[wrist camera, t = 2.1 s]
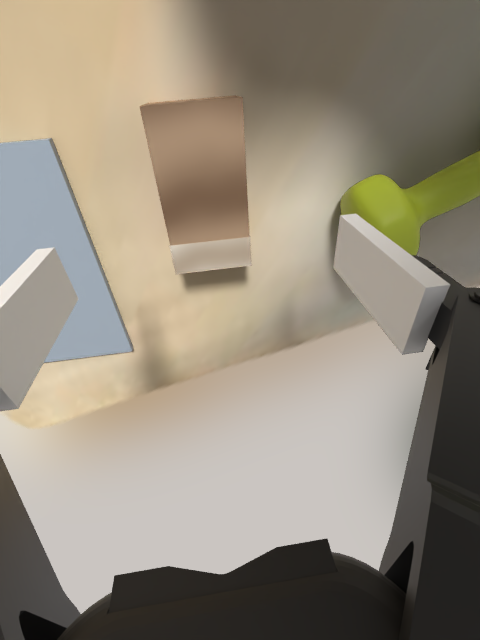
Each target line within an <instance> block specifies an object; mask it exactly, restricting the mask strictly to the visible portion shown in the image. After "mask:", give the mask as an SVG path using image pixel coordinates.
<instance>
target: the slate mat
mask: <svg viewBox="0 0 480 640" xmlns="http://www.w3.org/2000/svg"><path fill="white" fill-rule="evenodd" d="M53 247H54V248H55V250H56V252H57V254H58V256H59V258H60V260H61V262H62V265H63V267H64V269H65V271H66V273H67V275H68V277H69V280H70V282H71V284H72V286H73V288H74V290H75V292H76V294H77V297H78V301H77V303H76V304H75V306H74V308H73V310H72V312H71V314H70V315H69V317H68V319H67V321H66V323H65V325H64V326H63V328H62V330H61V332H60V334H59V335H58V337H57V339H56V341H55V343H54V345H53V346H52V348H51V350H50V352H49V354H48V356H47V357H46V359H45V361H44V363H45V362H53V361H61V360H68V359H76V358H84V357H92V356H100V355H108V354H115V353H123V352H131V351H132V350H133V346H132V343H131V341H130V338H129V336H128V333H127V330H126V328H125V325H124V323H123V320H122V318H121V315H120V312H119V310H118V307H117V305H116V302H115V299H114V297H113V294H112V292H111V289H110V287H109V284H108V281H107V279H106V276H105V274H104V271H103V269H102V266H101V263H100V261H99V258H98V256H97V253H96V251H95V248H94V245H93V243H92V240H91V238H90V235H89V233H88V230H87V227H86V225H85V222H84V220H83V217H82V214H81V212H80V209H79V207H78V204H77V202H76V199H75V196H74V194H73V191H72V189H71V186H70V184H69V181H68V178H67V176H66V173H65V171H64V168H63V166H62V163H61V160H60V158H59V155H58V153H57V150H56V148H55V145H54V142H53V140H52V138H49V139H38V140H27V141H16V142H5V143H0V286H1V285H2V284H3V283H4V282H5V281H6V280H7V279H8V278H9V277H10V276H11V275H12V274H13V273H14V272H15V271H16V270H17V269H18V268H19V267H20V266H21V265H22V264H23V263H24V262H25V261H26V260H27V259H28V258H29V257H30V256H31V255H32V254H33V253H34V252H35V251H36V250H37V249H44V248H53Z"/></svg>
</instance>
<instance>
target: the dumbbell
mask: <svg viewBox="0 0 480 640" xmlns="http://www.w3.org/2000/svg"><path fill="white" fill-rule="evenodd" d="M478 196H480V151H478V152H476V153H474V154H472V155H470V156H468V157H466V158H464V159H462V160H460V161H458V162H456V163H454V164H452V165H450V166H448V167H446V168H444V169H443V170H441V171H439V172H437V173H435V174H433V175H432V176H430V177H428V178H426V179H425V180H423V181H421V182H419V183H418V184H416V185H414V186H412V187H410V188H406V189H401V188H400V187H399V186H398V185H397V184H396V183H395V182H394V181H393V180H392V179H390V178H389V177H387V176H385V175H381V174H378V175H373V176H370V177H368V178H366V179H364V180H362V181H360V182H358V183H357V184H355V185H353V186H352V187H351V188H349V189H348V190H347V191H346V192H345V194H344V195H343V196H342V199H341V204H340V208H341V215H348V214H357V215H358V216H360V217H361V218H362V219H364V220H365V221H366V222H368V223H369V224H370V225H372V226H373V227H374V228H376V229H377V230H378V231H380V232H381V233H382V234H384V235H385V236H386V237H388V238H389V239H390V240H392V241H393V242H394V243H396V244H397V245H398V246H400V247H401V248H402V249H404V250H405V251H406V252H408V253H409V254H410V255H415V256H416V255H417V252H418V249H419V243H420V228H421V226H422V225H423V224H424V223H425V222H426V221H428V220H429V219H431V218H434V217H436V216H438V215H441V214H443V213H445V212H447V211H450V210H452V209H454V208H457V207H459V206H461V205H463V204H465V203H467V202H469V201H471V200H473V199H475V198H476V197H478Z"/></svg>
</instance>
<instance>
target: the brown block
mask: <svg viewBox="0 0 480 640" xmlns="http://www.w3.org/2000/svg"><path fill="white" fill-rule="evenodd" d="M140 110H141V115H142V119H143V124H144V128H145V133H146V138H147V142H148V147H149V151H150V156H151V160H152V165H153V169H154V174H155V178H156V183H157V187H158V192H159V196H160V201H161V205H162V210H163V214H164V219H165V223H166V228H167V232H168V237H169V241H170V250H171V254H172V259H173V263H174V268H175V272H176V274H183V273H192V272H200V271H209V270H218V269H226V268H235V267H243V266H252V264H251V243H250V235H249V219H248V199H247V179H246V159H245V138H244V118H243V98H242V97H239V96H224V97H213V98H201V99H190V100H178V101H167V102H155V103H147V104H144V105H141V106H140Z"/></svg>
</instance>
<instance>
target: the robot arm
mask: <svg viewBox="0 0 480 640" xmlns="http://www.w3.org/2000/svg"><path fill="white" fill-rule="evenodd" d="M333 268H334V269H335V271H336V272H337V273H338V275H339V276H340V277H341V278H342V280H343V281H344V282H345V283H346V285H347V286H348V287H349V288H350V290H351V291H352V292H353V293H354V295H355V296H356V297H357V298H358V300H359V301H360V302H361V303H362V305H363V306H364V307H365V308H366V310H367V311H368V312H369V314H370V315H371V316H372V317H373V319H374V320H375V321H376V322H377V323H378V325H379V326H380V327H381V328H382V330H383V331H384V332H385V334H386V335H387V336H388V337H389V339H390V340H391V341H392V342H393V344H394V345H395V346H396V347H397V349H398V350H399V351H400V353H401V354H402V355H403V354H409V353H416V352H423V350H424V348H425V345H426V343H427V340H428V338H429V339H430V340H431V341H432V342H433V343H434V344H435V345H436V346H435V349H434V351H433V353H432V355H431V358H430V360H429V362H428V364H427V367H426V369H427V370H428V375H427V378H426V383H425V387H424V392H423V396H422V400H421V405H420V409H419V414H418V418H417V423H416V427H415V431H414V436H413V440H412V444H411V448H410V453H409V457H408V462H407V466H406V470H405V475H404V479H403V483H402V488H401V492H400V497H399V501H398V506H397V510H396V514H395V518H394V523H393V527H392V532H391V535H390V538H389V541H388V544H387V546H386V549H385V552H384V555H383V558H382V561H381V565H380V568H379V571H377V570H376V569H374V568H372V567H371V566H369V565H367V564H366V563H364V562H361V561H359V560H357V559H355V558H352V557H349V556H346V555H343V554H340V553H334V552H331V549H330V546H329V543H328V540H327V539H322V540H316V541H310V542H305V543H299V544H294V545H287V546H282V547H276V548H275V549H273V550H271V551H269V552H267V553H265V554H263V555H262V556H260V557H258V558H256V559H254V560H252V561H250V562H248V563H246V564H245V565H243V566H241V567H239V568H237V569H235V570H233V571H231V572H229V573H227V574H213V573H207V572H200V571H195V570H188V569H182V568H176V567H170V566H167V567H161V568H156V569H150V570H144V571H139V572H133V573H127V574H121V575H116V576H114V582H113V588H112V593H110V594H108V595H107V596H105V597H104V598H102V599H101V600H99V601H98V602H96V603H95V604H93V605H92V606H91V607H89V608H88V609H87V610H86V611H85V612H84V613H82V614H80V613H79V611H78V610H77V608H76V607H75V606H74V604H73V603H72V602H71V601H70V600H69V598H68V597H67V596H66V594H65V593H64V591H63V590H62V587H61V585H60V583H59V581H58V579H57V577H56V574H55V572H54V570H53V568H52V566H51V564H50V561H49V559H48V557H47V555H46V553H45V551H44V548H43V546H42V544H41V542H40V540H39V537H38V535H37V533H36V531H35V529H34V526H33V524H32V523H31V520H30V518H29V516H28V514H27V511H26V509H25V507H24V505H23V503H22V500H21V498H20V496H19V494H18V492H17V490H16V487H15V485H14V483H13V481H12V479H11V476H10V474H9V472H8V470H7V468H6V465H5V463H4V461H3V459H2V457H1V455H0V640H480V288H465V287H463V286H462V285H461V284H459V283H458V282H456V281H455V280H454V279H452V278H451V277H450V276H448V275H447V274H445V273H443V271H441V270H440V269H438V268H436V266H434V265H433V264H432V263H430V262H429V261H427V260H425V259H423V258H420V257H418V256H415V255H410V254H409V253H408V252H406V251H405V250H404V249H402V248H401V247H400V246H398V245H397V244H396V243H394V242H393V241H392V240H390V239H389V238H388V237H386V236H385V235H384V234H382V233H381V232H380V231H378V230H377V229H376V228H374V227H373V226H372V225H370V224H369V223H368V222H366V221H365V220H364V219H362V218H361V217H360V216H358V215H357V214H348V215H340V220H339V228H338V235H337V243H336V250H335V258H334V265H333ZM77 301H78V297H77V294H76V292H75V290H74V288H73V286H72V284H71V282H70V280H69V277H68V275H67V273H66V271H65V269H64V267H63V265H62V262H61V260H60V258H59V256H58V254H57V252H56V250H55V248H54V247H53V248H44V249H37V250H36V251H35V252H34V253H33V254H32V255H31V256H30V257H29V258H28V259H27V260H26V261H25V262H24V263H23V264H22V265H21V266H20V267H19V268H18V269H17V270H16V271H15V272H14V273H13V274H12V275H11V276H10V277H9V278H8V279H7V280H6V281H5V282H4V283H3V284H2V285H1V286H0V411H5V410H12V409H18V408H19V407H20V405H21V403H22V401H23V399H24V397H25V396H26V394H27V392H28V390H29V388H30V387H31V385H32V383H33V381H34V379H35V377H36V376H37V374H38V372H39V370H40V368H41V366H42V365H43V363H44V361H45V359H46V357H47V356H48V354H49V352H50V350H51V348H52V346H53V345H54V343H55V341H56V339H57V337H58V335H59V334H60V332H61V330H62V328H63V326H64V325H65V323H66V321H67V319H68V317H69V315H70V314H71V312H72V310H73V308H74V306H75V304H76V303H77Z"/></svg>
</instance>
